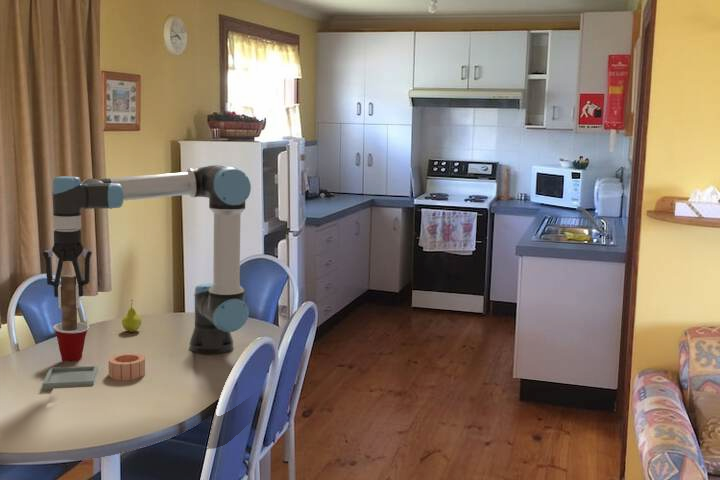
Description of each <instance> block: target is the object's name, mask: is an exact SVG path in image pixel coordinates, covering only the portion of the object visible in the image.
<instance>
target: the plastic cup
mask: <svg viewBox="0 0 720 480" xmlns="http://www.w3.org/2000/svg"><path fill="white" fill-rule="evenodd" d="M89 329H90V325H88V324H87V323H84V322H81V321H80V322H78V321H77V329H76V330H72V331H64V330H62V322H60V323H59V322H58V323H56V324H55V325H53V330H54V331H55V335H56V338H57V343H58V350H59V352H60V357H61V361H62V363H63V364H65V362H76V361H79V360H81V359H82V358H83V353H84V352H83V351H84V347H85V341H86V336H87V333H88V330H89Z"/></svg>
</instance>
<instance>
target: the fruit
mask: <svg viewBox="0 0 720 480" xmlns="http://www.w3.org/2000/svg"><path fill="white" fill-rule="evenodd" d="M131 301H133V299H131ZM121 324H122V327H123V329H124V330H126V331H127V332H128V333H133V332H136V331H138V330H139V329H140V327H141V325H142V317H141V316H140V315H138V314H137V312H136V309H135V308H134V307H133V304H131V306H130V307H129V308H128V311H127V313H126V315H125V316H123V318H122V319H121Z"/></svg>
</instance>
